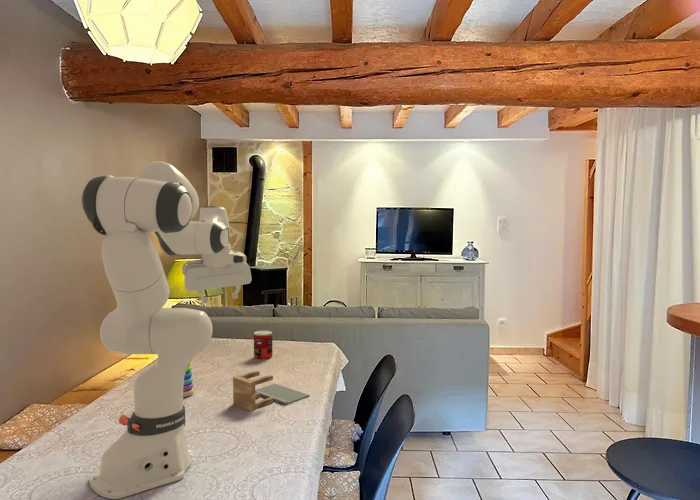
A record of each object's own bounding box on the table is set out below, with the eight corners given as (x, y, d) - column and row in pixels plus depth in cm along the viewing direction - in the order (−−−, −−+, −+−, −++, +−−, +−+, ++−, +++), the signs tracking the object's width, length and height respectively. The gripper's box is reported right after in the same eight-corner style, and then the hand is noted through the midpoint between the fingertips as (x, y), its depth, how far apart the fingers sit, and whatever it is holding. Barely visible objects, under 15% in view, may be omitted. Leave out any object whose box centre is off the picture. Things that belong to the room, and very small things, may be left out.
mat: (285, 405, 163) (285, 402, 162) (250, 392, 174) (250, 389, 174) (309, 396, 171) (309, 393, 171) (275, 384, 183) (275, 381, 183)
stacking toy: (186, 399, 168) (185, 344, 167) (165, 397, 169) (164, 342, 168) (198, 391, 175) (197, 338, 174) (177, 389, 177) (176, 337, 176)
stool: (250, 410, 158) (250, 382, 157) (233, 403, 164) (233, 376, 163) (273, 402, 165) (273, 375, 164) (256, 396, 171) (256, 370, 170)
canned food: (252, 356, 221) (251, 331, 220) (269, 354, 224) (269, 329, 223) (256, 360, 214) (256, 335, 213) (274, 358, 217) (274, 333, 216)
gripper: (182, 264, 147) (186, 308, 150) (251, 256, 155) (254, 298, 158) (180, 259, 153) (184, 302, 156) (246, 252, 161) (249, 293, 164)
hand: (219, 300), depth 157 cm, fingers open, 8 cm apart
